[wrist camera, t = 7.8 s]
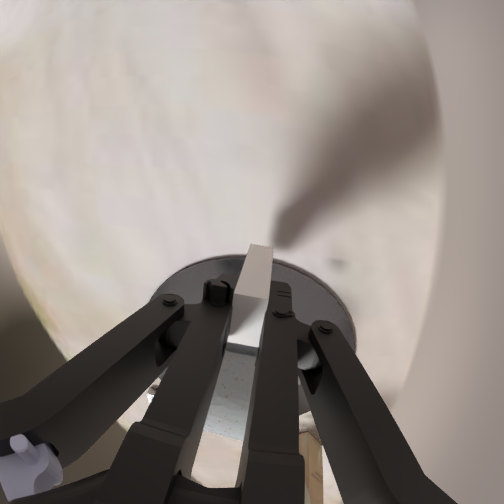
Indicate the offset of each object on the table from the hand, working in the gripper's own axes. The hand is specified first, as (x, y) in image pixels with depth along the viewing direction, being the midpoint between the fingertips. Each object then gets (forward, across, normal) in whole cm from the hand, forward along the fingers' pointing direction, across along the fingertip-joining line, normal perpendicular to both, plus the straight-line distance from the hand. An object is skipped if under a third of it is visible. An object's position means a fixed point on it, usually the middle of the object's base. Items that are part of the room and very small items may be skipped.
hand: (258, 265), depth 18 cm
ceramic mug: (+2, 0, -12) cm, 13 cm away
